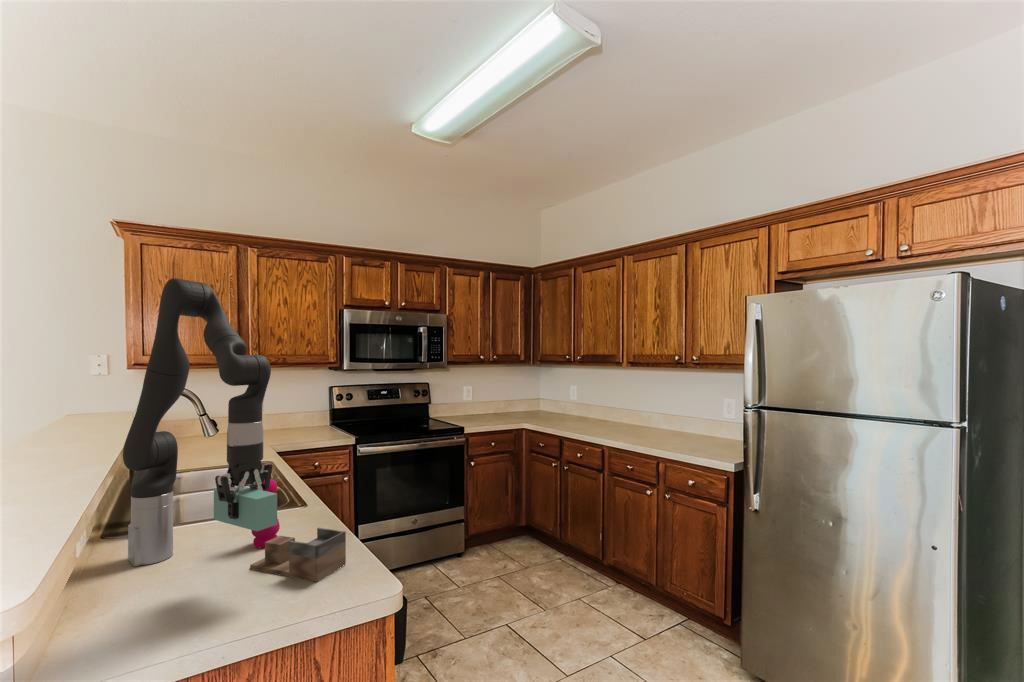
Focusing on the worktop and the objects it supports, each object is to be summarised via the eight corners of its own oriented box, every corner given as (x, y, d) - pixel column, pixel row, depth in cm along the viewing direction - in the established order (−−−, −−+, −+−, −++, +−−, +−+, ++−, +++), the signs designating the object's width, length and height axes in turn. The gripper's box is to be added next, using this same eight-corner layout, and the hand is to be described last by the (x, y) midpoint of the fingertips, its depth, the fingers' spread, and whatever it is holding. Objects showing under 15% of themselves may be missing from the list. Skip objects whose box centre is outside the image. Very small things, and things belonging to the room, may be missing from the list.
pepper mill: (284, 539, 148) (284, 470, 148) (270, 549, 141) (270, 476, 141) (261, 538, 149) (261, 470, 149) (245, 548, 141) (246, 476, 142)
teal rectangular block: (213, 519, 119) (213, 489, 119) (234, 513, 124) (234, 484, 124) (256, 531, 112) (257, 499, 112) (277, 524, 116) (277, 493, 116)
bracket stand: (250, 568, 128) (250, 534, 128) (281, 553, 138) (281, 522, 138) (317, 582, 121) (317, 546, 121) (345, 564, 130) (345, 531, 130)
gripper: (258, 435, 126) (258, 503, 126) (205, 445, 112) (204, 522, 112) (282, 436, 123) (281, 507, 123) (230, 447, 110) (229, 526, 110)
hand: (244, 514), depth 118 cm, fingers closed on teal rectangular block, 5 cm apart
